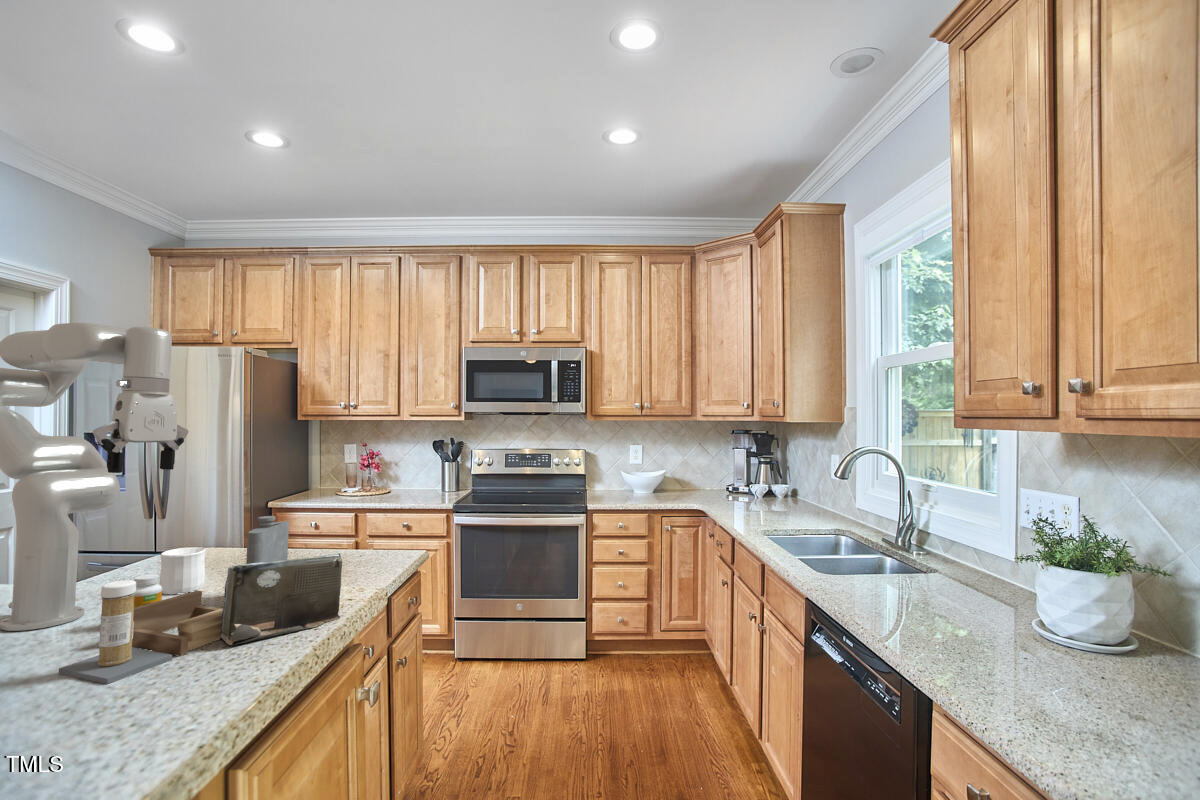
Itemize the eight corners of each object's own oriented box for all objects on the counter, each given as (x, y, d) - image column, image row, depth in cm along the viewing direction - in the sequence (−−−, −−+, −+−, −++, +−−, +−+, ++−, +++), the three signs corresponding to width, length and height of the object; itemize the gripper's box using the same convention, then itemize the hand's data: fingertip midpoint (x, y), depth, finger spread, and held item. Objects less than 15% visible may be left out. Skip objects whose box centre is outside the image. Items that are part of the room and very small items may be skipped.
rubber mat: (58, 673, 93) (58, 668, 93) (125, 650, 102) (125, 646, 102) (107, 684, 89) (107, 678, 89) (171, 659, 99) (172, 654, 99)
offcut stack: (172, 648, 103) (173, 624, 104) (227, 628, 114) (228, 606, 114) (187, 651, 102) (188, 626, 102) (242, 630, 113) (243, 608, 113)
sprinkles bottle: (135, 654, 98) (139, 578, 99) (127, 664, 94) (132, 584, 95) (102, 659, 96) (106, 581, 97) (92, 669, 92) (97, 587, 93)
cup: (197, 582, 147) (198, 545, 148) (212, 588, 141) (213, 550, 142) (152, 590, 139) (154, 551, 140) (166, 597, 134) (168, 557, 134)
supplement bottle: (141, 629, 113) (144, 580, 114) (120, 626, 114) (123, 579, 115) (167, 620, 118) (169, 574, 119) (146, 618, 119) (148, 572, 120)
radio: (339, 611, 126) (341, 544, 126) (353, 620, 119) (355, 551, 120) (216, 637, 109) (219, 561, 110) (225, 650, 103) (229, 569, 104)
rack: (116, 644, 105) (118, 612, 105) (195, 618, 119) (196, 590, 120) (180, 656, 100) (182, 622, 100) (254, 628, 114) (256, 598, 115)
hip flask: (256, 611, 125) (260, 521, 126) (237, 611, 124) (241, 522, 125) (288, 590, 140) (291, 511, 141) (271, 591, 140) (274, 511, 141)
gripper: (110, 384, 105) (105, 474, 104) (201, 390, 121) (197, 468, 120) (84, 384, 107) (78, 473, 106) (176, 390, 123) (172, 467, 123)
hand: (141, 470), depth 113 cm, fingers open, 9 cm apart
